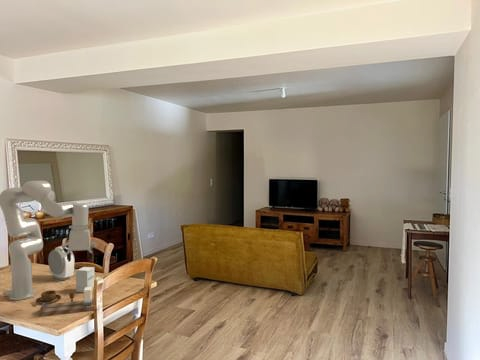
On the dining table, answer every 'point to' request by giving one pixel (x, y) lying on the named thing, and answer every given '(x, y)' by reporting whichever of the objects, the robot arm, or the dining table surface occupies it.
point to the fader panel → (64, 308)
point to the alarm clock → (61, 264)
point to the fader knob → (88, 296)
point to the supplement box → (84, 278)
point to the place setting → (51, 297)
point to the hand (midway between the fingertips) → (79, 260)
